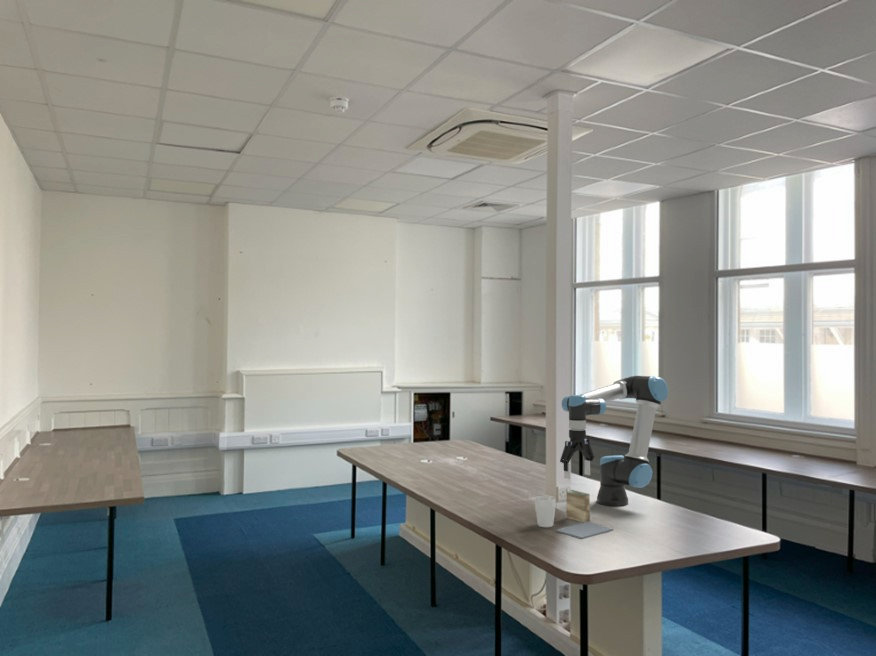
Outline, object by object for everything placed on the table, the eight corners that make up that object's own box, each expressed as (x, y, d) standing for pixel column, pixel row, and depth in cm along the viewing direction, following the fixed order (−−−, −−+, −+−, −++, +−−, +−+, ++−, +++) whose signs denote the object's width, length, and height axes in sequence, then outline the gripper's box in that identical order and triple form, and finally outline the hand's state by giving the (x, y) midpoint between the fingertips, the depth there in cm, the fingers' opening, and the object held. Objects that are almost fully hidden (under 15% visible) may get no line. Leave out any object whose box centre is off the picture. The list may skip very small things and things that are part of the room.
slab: (572, 516, 303) (572, 489, 303) (589, 520, 295) (589, 493, 295) (566, 517, 300) (566, 491, 301) (583, 522, 292) (583, 495, 293)
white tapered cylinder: (556, 523, 291) (556, 495, 291) (554, 528, 282) (554, 500, 283) (536, 521, 293) (536, 494, 294) (533, 527, 285) (533, 499, 285)
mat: (587, 523, 291) (587, 521, 291) (613, 530, 280) (613, 528, 280) (556, 531, 279) (555, 529, 279) (581, 538, 268) (581, 537, 268)
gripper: (589, 426, 309) (589, 472, 308) (552, 430, 294) (552, 478, 293) (601, 428, 303) (601, 474, 302) (564, 432, 288) (564, 481, 287)
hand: (577, 476), depth 298 cm, fingers open, 13 cm apart
